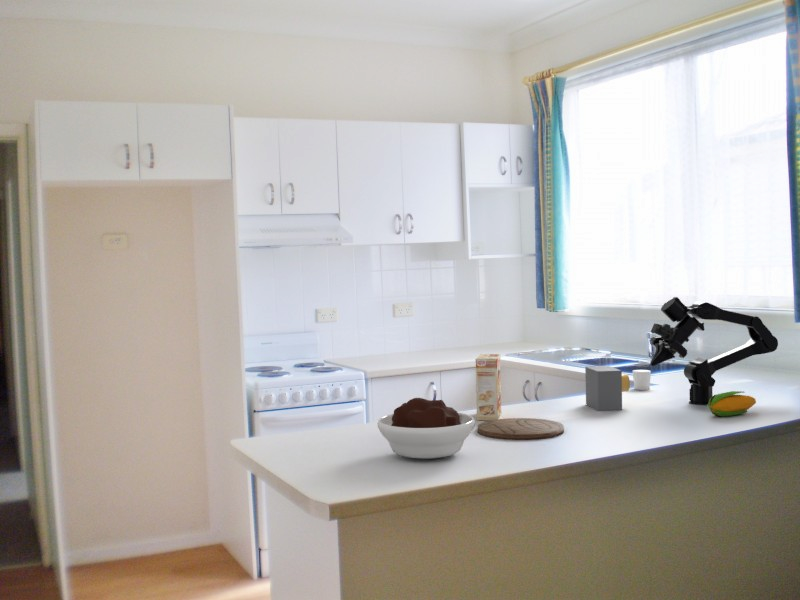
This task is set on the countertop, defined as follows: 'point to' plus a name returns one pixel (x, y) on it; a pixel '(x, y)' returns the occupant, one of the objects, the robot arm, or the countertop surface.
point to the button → (625, 383)
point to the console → (604, 388)
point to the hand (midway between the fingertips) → (651, 365)
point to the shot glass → (641, 379)
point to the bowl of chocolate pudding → (426, 429)
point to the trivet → (520, 429)
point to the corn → (730, 403)
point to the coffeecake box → (488, 387)
